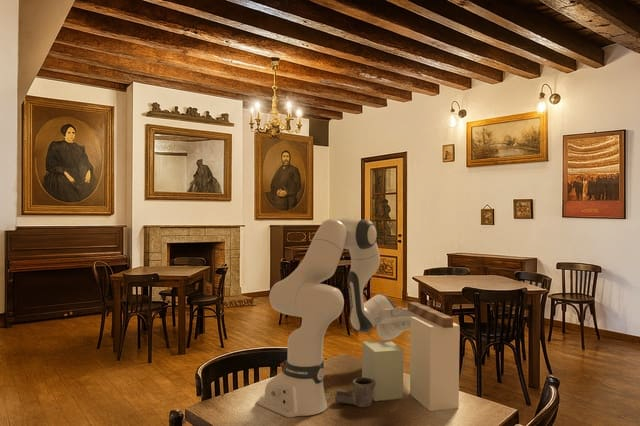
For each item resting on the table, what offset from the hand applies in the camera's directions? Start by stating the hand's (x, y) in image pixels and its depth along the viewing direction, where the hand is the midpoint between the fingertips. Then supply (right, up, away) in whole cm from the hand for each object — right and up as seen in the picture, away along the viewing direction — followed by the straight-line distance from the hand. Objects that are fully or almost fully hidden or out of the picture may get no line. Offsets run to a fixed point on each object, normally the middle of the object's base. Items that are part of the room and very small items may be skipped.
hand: (412, 308), depth 166 cm
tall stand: (+4, -27, -15) cm, 31 cm away
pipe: (-22, -27, -19) cm, 40 cm away
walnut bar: (+3, -1, -11) cm, 12 cm away
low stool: (-12, -27, -9) cm, 31 cm away
